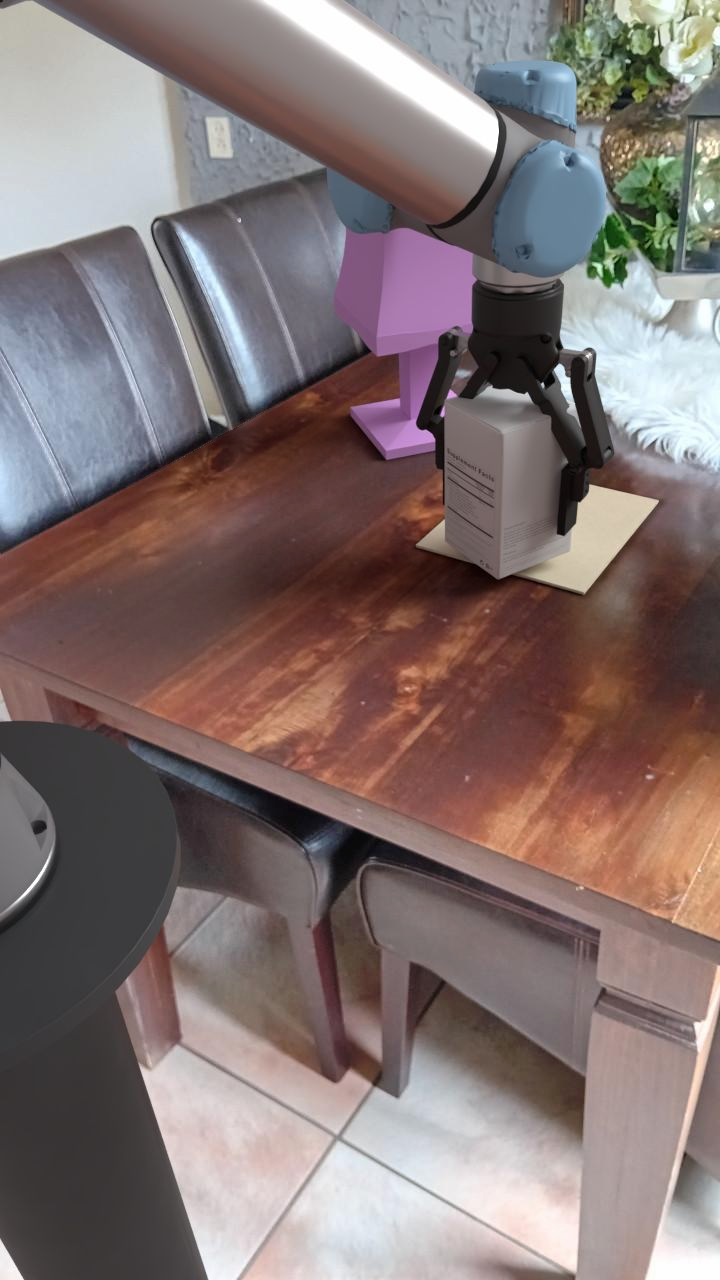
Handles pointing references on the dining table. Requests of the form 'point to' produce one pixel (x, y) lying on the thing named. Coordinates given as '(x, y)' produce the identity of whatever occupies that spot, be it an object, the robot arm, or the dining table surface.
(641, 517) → the placemat
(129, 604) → the dining table surface
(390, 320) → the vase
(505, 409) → the rectangular carton
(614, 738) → the dining table surface
